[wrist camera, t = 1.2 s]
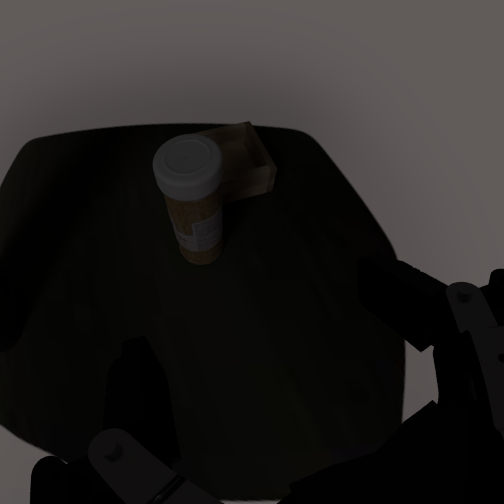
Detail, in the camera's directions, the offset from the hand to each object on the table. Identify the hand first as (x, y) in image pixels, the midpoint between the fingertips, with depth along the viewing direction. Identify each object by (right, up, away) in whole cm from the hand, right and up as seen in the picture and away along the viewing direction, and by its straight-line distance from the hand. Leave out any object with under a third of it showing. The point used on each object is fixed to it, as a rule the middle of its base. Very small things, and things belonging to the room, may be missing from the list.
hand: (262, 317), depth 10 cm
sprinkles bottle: (-5, +3, +20) cm, 21 cm away
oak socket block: (-3, +11, +24) cm, 26 cm away
